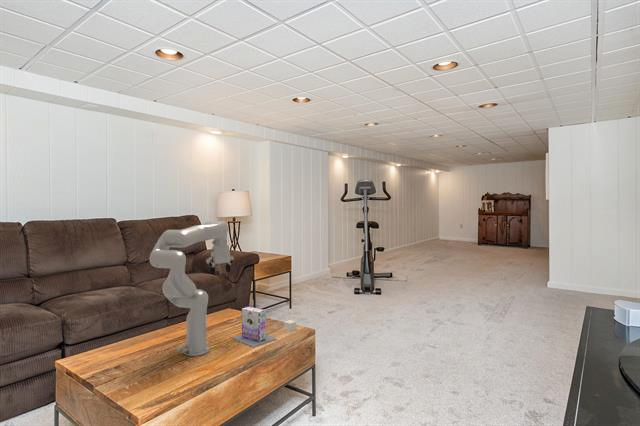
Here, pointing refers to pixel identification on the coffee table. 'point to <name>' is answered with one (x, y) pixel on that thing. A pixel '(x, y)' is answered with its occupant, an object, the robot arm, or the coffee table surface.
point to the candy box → (254, 323)
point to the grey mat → (252, 342)
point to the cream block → (290, 325)
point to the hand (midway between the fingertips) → (220, 273)
